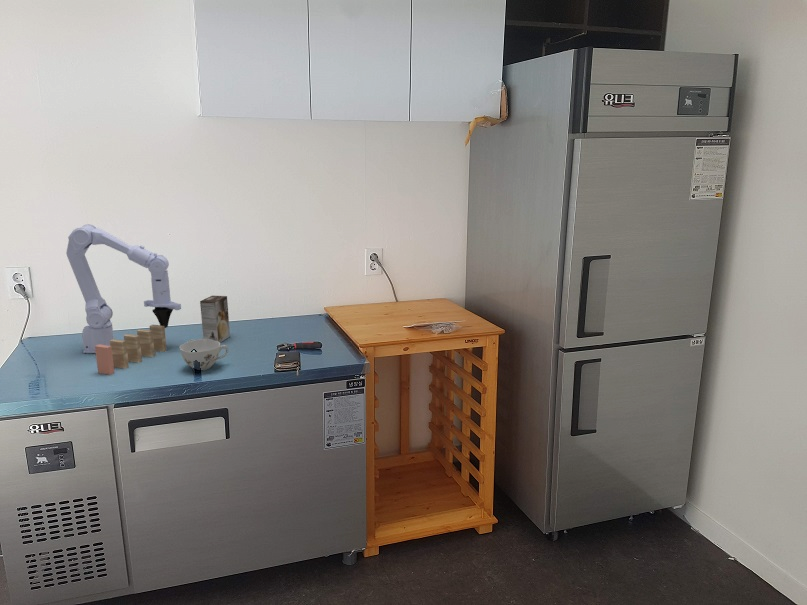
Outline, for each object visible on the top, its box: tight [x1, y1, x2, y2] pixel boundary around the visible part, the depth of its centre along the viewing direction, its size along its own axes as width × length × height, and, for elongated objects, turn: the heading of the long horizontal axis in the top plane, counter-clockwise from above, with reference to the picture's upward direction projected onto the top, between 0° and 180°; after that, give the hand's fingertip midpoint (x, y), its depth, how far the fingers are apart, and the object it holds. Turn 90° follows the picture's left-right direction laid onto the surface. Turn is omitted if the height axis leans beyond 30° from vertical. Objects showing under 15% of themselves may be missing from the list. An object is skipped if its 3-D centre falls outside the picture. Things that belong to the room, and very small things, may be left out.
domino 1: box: [110, 338, 130, 370], centre depth 203 cm, size 2×5×9 cm, turn 70°
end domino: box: [95, 344, 116, 376], centre depth 198 cm, size 2×5×9 cm, turn 69°
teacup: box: [179, 338, 229, 371], centre depth 203 cm, size 15×12×8 cm
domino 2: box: [123, 333, 143, 364], centre depth 209 cm, size 2×5×9 cm, turn 69°
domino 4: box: [149, 324, 168, 353], centre depth 219 cm, size 2×5×9 cm, turn 70°
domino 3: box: [136, 328, 156, 358], centre depth 214 cm, size 2×5×9 cm, turn 70°
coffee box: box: [199, 295, 231, 344], centre depth 231 cm, size 9×6×16 cm
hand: (164, 327), depth 222 cm, fingers closed
